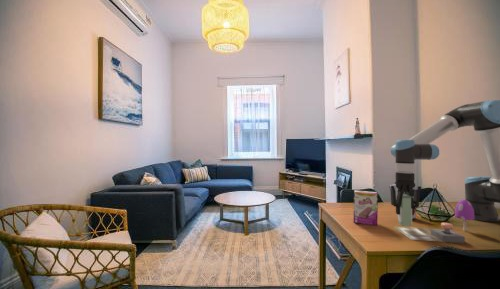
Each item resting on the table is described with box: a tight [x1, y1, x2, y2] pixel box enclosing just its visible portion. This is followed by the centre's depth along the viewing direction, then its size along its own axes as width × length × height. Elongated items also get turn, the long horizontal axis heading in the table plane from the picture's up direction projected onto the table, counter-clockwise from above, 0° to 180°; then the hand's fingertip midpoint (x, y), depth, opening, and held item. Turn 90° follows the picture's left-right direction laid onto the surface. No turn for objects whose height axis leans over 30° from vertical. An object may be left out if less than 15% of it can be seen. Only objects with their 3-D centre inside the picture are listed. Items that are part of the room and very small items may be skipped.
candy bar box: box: [353, 189, 379, 227], centre depth 120 cm, size 11×5×16 cm, turn 65°
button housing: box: [430, 228, 466, 244], centre depth 99 cm, size 8×8×2 cm
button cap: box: [440, 222, 454, 234], centre depth 99 cm, size 4×4×4 cm
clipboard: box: [392, 226, 459, 244], centre depth 104 cm, size 20×16×1 cm
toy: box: [454, 199, 475, 232], centre depth 108 cm, size 7×7×15 cm
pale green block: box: [398, 193, 412, 227], centre depth 110 cm, size 4×4×14 cm
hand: (404, 221), depth 110 cm, fingers closed on pale green block, 4 cm apart
